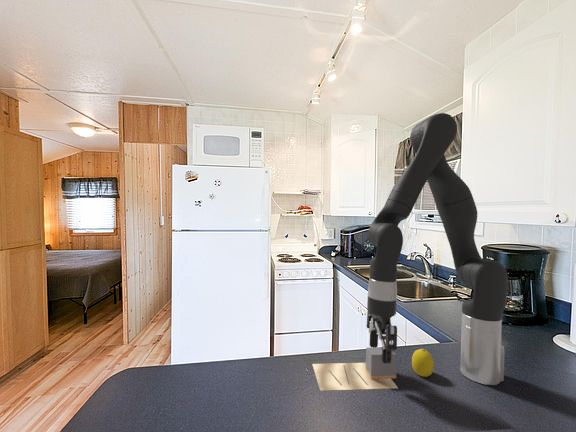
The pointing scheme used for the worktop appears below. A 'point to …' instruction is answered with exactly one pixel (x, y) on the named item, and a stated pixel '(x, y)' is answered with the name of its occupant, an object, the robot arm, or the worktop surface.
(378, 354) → the block
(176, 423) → the worktop surface
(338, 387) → the board
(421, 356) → the lemon
